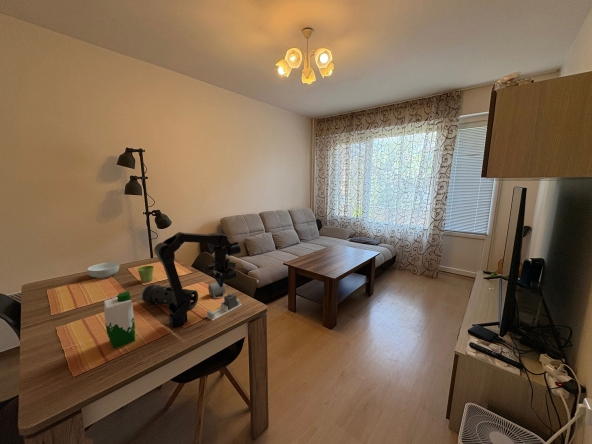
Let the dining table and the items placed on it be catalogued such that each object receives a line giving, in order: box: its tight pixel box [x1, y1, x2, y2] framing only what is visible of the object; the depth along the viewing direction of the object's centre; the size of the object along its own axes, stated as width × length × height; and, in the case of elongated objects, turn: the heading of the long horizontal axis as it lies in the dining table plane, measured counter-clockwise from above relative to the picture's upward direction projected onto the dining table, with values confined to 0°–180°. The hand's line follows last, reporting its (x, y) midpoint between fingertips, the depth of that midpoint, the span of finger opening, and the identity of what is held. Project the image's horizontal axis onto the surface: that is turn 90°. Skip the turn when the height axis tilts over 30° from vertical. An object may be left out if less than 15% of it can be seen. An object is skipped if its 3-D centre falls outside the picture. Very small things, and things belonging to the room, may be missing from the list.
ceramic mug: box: [207, 281, 226, 300], centre depth 133 cm, size 11×8×8 cm
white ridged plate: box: [205, 298, 243, 321], centre depth 118 cm, size 18×7×3 cm, turn 144°
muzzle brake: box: [140, 284, 199, 310], centre depth 121 cm, size 10×28×10 cm, turn 78°
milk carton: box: [103, 291, 136, 350], centre depth 94 cm, size 9×9×20 cm
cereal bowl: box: [86, 261, 120, 279], centre depth 157 cm, size 17×17×7 cm
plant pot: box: [136, 265, 155, 283], centre depth 151 cm, size 9×9×9 cm
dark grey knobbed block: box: [223, 292, 237, 310], centre depth 120 cm, size 4×4×7 cm
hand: (221, 286), depth 119 cm, fingers closed
